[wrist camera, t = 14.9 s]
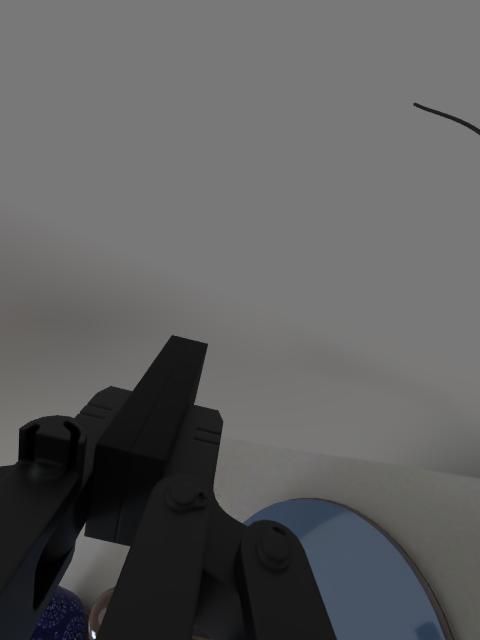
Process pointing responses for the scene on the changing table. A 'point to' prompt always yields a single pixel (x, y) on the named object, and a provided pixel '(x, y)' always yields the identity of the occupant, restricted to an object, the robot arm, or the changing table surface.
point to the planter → (62, 618)
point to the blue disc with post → (345, 576)
